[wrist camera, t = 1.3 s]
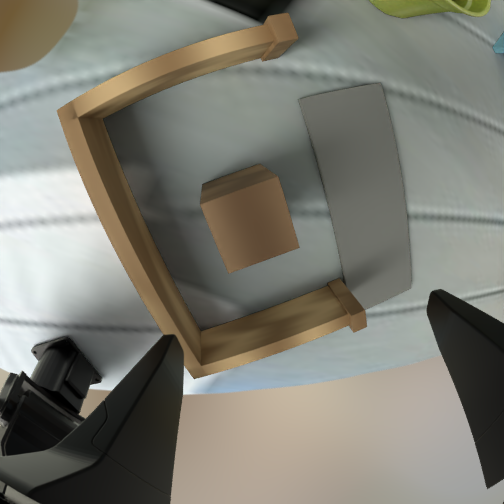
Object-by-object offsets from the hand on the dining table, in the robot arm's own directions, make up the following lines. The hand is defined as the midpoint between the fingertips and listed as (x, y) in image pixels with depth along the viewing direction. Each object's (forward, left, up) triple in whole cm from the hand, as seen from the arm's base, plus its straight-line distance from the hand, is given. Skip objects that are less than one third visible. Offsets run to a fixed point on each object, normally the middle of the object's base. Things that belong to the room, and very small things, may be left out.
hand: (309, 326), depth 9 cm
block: (0, +1, -14) cm, 14 cm away
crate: (-2, +1, -14) cm, 14 cm away
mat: (+10, -3, -14) cm, 17 cm away
